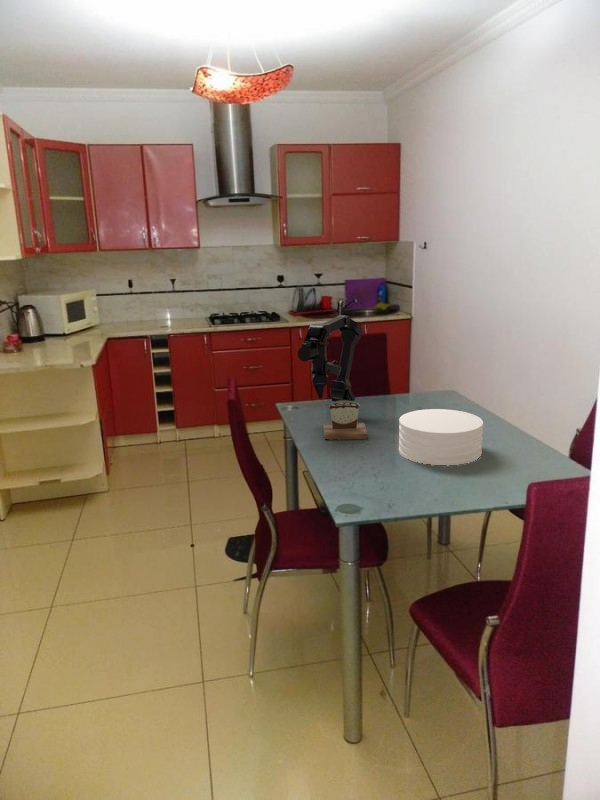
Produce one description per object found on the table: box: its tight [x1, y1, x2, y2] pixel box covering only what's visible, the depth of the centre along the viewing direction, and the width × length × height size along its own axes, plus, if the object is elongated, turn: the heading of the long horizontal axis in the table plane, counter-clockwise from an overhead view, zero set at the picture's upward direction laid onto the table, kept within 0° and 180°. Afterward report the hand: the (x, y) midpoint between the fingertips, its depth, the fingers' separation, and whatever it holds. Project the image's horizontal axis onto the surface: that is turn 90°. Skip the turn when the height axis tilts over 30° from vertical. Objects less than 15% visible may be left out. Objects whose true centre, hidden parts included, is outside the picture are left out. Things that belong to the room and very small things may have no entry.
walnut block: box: [322, 422, 368, 441], centre depth 228 cm, size 14×16×2 cm
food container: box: [328, 401, 361, 430], centre depth 228 cm, size 12×6×10 cm, turn 90°
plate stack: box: [398, 408, 484, 467], centre depth 205 cm, size 28×28×12 cm
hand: (320, 395), depth 234 cm, fingers open, 9 cm apart
